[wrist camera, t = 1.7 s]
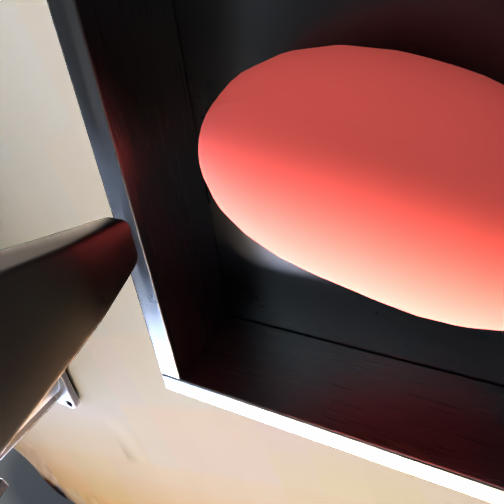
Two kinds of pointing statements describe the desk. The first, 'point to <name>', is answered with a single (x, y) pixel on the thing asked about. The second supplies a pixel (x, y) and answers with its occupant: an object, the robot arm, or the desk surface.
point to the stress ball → (369, 175)
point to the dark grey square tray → (264, 261)
